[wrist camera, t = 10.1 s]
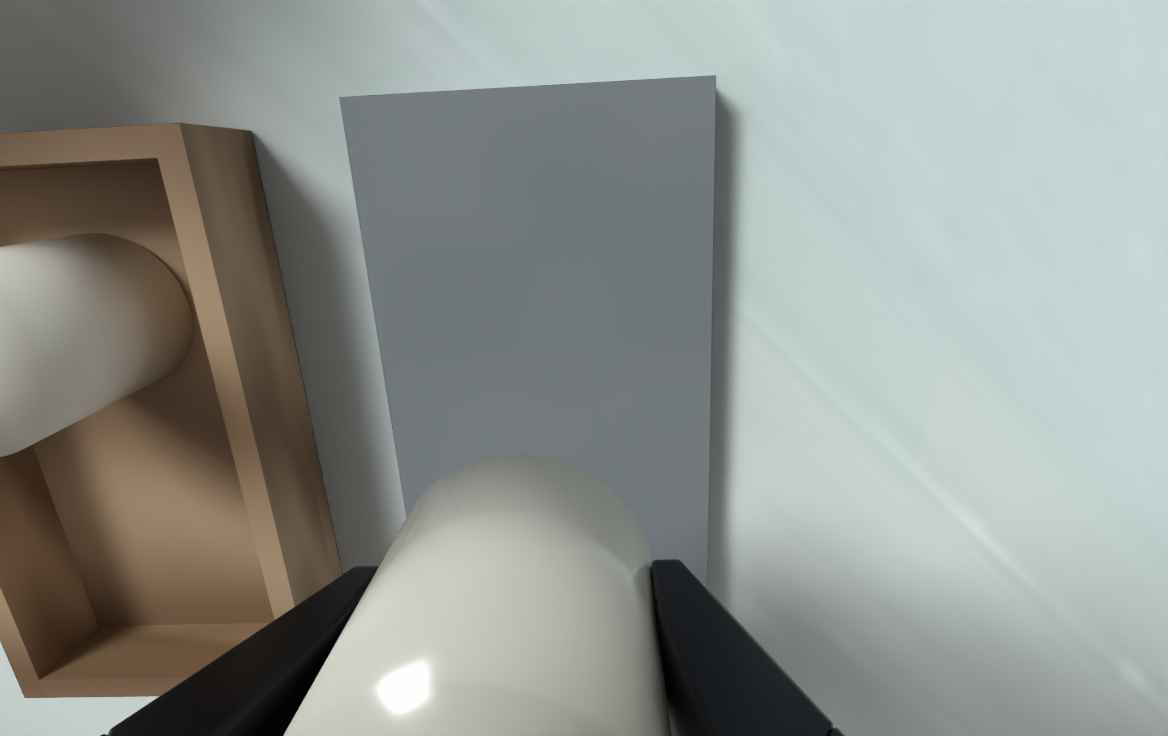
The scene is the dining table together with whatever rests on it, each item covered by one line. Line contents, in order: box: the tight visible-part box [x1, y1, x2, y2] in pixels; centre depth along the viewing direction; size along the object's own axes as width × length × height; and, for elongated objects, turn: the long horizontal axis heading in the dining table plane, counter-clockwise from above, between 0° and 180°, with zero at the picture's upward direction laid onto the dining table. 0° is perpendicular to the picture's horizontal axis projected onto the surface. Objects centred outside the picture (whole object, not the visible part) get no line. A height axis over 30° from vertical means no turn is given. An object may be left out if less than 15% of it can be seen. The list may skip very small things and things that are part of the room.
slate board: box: [339, 75, 716, 588], centre depth 15 cm, size 15×8×1 cm, turn 3°
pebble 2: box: [283, 454, 672, 736], centre depth 7 cm, size 4×4×4 cm
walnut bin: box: [0, 123, 342, 698], centre depth 15 cm, size 14×8×2 cm, turn 3°
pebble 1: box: [0, 233, 193, 457], centre depth 13 cm, size 4×4×4 cm
